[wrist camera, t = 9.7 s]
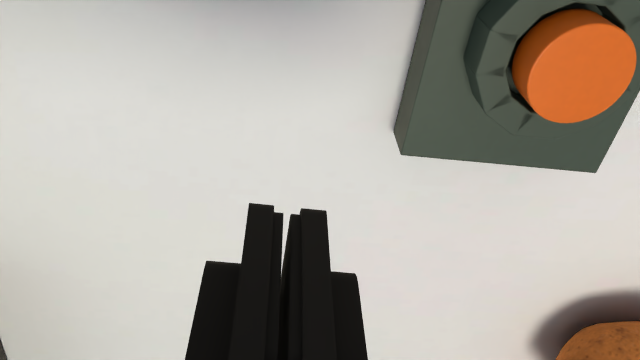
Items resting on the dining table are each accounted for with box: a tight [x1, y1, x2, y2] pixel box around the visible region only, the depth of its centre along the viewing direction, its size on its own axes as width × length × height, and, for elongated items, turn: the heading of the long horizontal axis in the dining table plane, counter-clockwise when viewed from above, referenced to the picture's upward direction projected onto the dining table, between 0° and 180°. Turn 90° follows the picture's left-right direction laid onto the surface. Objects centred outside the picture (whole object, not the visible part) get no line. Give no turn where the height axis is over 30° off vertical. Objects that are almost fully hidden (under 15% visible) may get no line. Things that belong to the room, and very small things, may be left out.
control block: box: [394, 0, 640, 173], centre depth 22 cm, size 12×10×4 cm
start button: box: [512, 9, 637, 123], centre depth 20 cm, size 4×4×2 cm
